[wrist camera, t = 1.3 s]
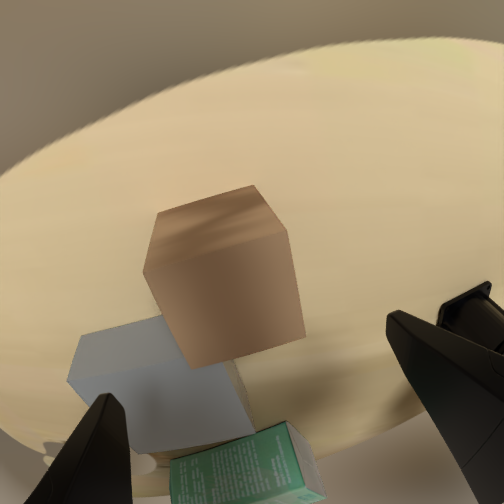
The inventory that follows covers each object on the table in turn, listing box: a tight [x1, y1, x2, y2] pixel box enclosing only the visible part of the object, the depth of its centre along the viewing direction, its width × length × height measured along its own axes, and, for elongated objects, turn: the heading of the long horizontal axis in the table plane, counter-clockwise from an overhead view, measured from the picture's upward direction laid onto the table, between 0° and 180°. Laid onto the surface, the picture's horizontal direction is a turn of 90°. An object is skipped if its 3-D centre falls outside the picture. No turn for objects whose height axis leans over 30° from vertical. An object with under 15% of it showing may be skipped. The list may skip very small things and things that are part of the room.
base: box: [67, 315, 256, 454], centre depth 18 cm, size 9×9×4 cm
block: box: [143, 185, 306, 370], centre depth 14 cm, size 5×5×6 cm
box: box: [169, 421, 327, 504], centre depth 24 cm, size 7×14×8 cm, turn 117°
